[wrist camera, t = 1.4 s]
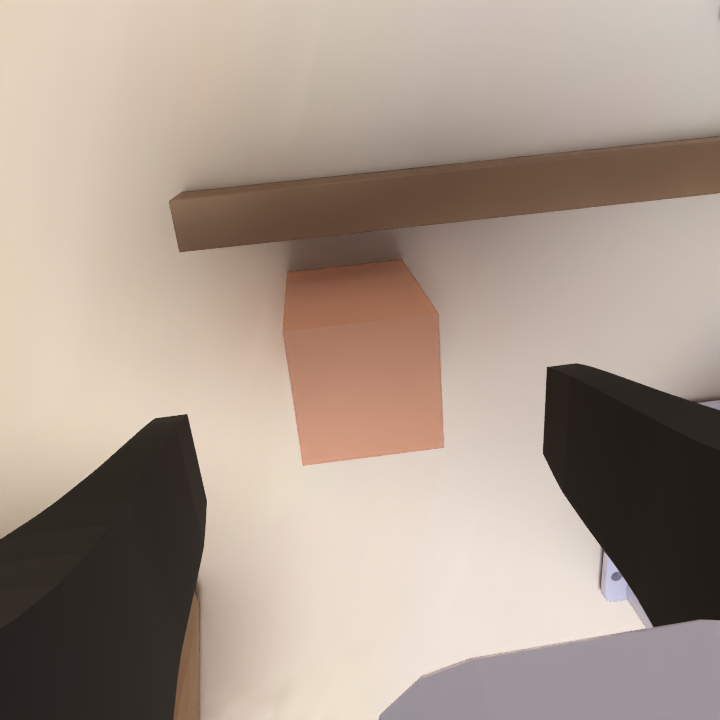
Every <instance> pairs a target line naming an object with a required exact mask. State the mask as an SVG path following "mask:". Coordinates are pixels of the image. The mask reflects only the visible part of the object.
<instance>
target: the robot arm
mask: <svg viewBox="0 0 720 720" xmlns="http://www.w3.org/2000/svg"><path fill="white" fill-rule="evenodd" d="M543 454H544V456H545V458H546V461H547V463H548V465H549V467H550V469H551V471H552V473H553V475H554V477H555V479H556V481H557V483H558V484H559V486H560V488H561V490H562V492H563V493H564V495H565V496H566V498H567V499H568V501H569V502H570V504H571V505H572V507H573V508H574V509H575V511H576V512H577V514H578V515H579V516H580V518H581V519H582V521H583V522H584V524H585V525H586V526H587V528H588V529H589V530H590V532H591V533H592V535H593V536H594V537H595V539H596V540H597V542H598V543H599V544H600V546H601V547H602V548H603V550H604V557H603V570H602V582H601V593H602V595H603V596H604V598H605V599H606V600H607V601H610V602H615V601H622V600H628V602H629V603H630V605H631V606H632V608H633V609H634V611H635V612H636V614H637V615H638V617H639V618H640V620H641V621H642V623H643V624H644V626H645V627H646V629H641V630H635V631H629V632H623V633H617V634H611V635H605V636H599V637H594V638H588V639H582V640H576V641H570V642H564V643H558V644H552V645H546V646H540V647H534V648H528V649H522V650H516V651H511V652H505V653H499V654H493V655H487V656H481V657H475V658H470V659H467V660H464V661H461V662H459V663H456V664H453V665H450V666H448V667H445V668H442V669H440V670H437V671H434V672H431V673H429V674H426V675H423V676H421V677H420V678H419V679H418V680H417V681H416V682H415V683H414V684H412V685H411V686H410V687H409V688H408V689H407V690H406V691H405V692H404V693H403V694H402V695H401V696H399V697H398V698H397V699H396V700H395V701H394V702H393V703H392V704H391V705H390V706H389V707H388V708H387V709H386V710H385V711H384V712H383V713H382V714H381V715H380V717H379V720H720V400H716V401H708V402H701V403H695V402H692V401H689V400H686V399H683V398H680V397H677V396H674V395H671V394H668V393H665V392H662V391H659V390H656V389H654V388H651V387H648V386H645V385H642V384H640V383H637V382H634V381H631V380H628V379H626V378H623V377H620V376H617V375H614V374H612V373H609V372H606V371H603V370H600V369H597V368H593V367H590V366H586V365H582V364H577V363H575V364H568V365H560V366H552V367H547V380H546V401H545V422H544V443H543ZM206 507H207V500H206V495H205V491H204V486H203V482H202V478H201V473H200V469H199V464H198V460H197V455H196V451H195V447H194V442H193V438H192V433H191V429H190V424H189V420H188V416H187V414H185V415H177V416H170V417H162V418H155V419H154V420H152V421H151V422H150V423H148V424H147V425H146V426H145V427H144V428H142V429H141V430H140V431H139V432H138V433H137V434H136V435H135V436H133V437H132V438H131V439H130V440H129V441H128V442H127V443H126V444H125V445H123V446H122V447H121V448H120V449H119V450H118V451H117V452H116V453H114V454H113V455H112V456H111V457H110V458H109V459H108V460H107V461H105V462H104V463H103V464H102V465H101V466H100V467H99V468H97V469H96V470H95V471H94V472H93V473H91V474H90V475H89V476H88V477H86V478H85V479H84V480H83V481H81V482H80V483H79V484H78V485H76V486H75V487H74V488H73V489H72V490H70V491H69V492H68V493H67V494H65V495H64V496H63V497H62V498H60V499H59V500H58V501H56V502H55V503H54V504H52V505H51V506H50V507H48V508H47V509H45V510H44V511H43V512H41V513H40V514H38V515H37V516H36V517H34V518H32V519H31V520H29V521H28V522H26V523H25V524H23V525H22V526H20V527H19V528H17V529H16V530H14V531H13V532H11V533H10V534H8V535H6V536H5V537H3V538H2V539H0V720H173V719H174V710H175V700H176V690H177V680H178V671H179V665H180V659H181V653H182V647H183V643H184V638H185V633H186V629H187V624H188V619H189V615H190V610H191V605H192V601H193V596H194V591H195V587H196V582H197V577H198V572H199V567H200V563H201V558H202V553H203V548H204V538H205V525H206ZM615 572H617V573H615ZM613 573H615V574H613ZM612 574H613V575H612Z"/></svg>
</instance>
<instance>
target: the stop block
mask: <svg viewBox="0 0 720 720" xmlns="http://www.w3.org/2000/svg"><path fill="white" fill-rule="evenodd" d="M283 335H284V342H285V349H286V355H287V362H288V369H289V376H290V382H291V389H292V396H293V403H294V409H295V416H296V423H297V430H298V436H299V443H300V450H301V457H302V463H303V466H304V465H312V464H319V463H327V462H335V461H343V460H351V459H359V458H366V457H374V456H382V455H390V454H398V453H406V452H413V451H421V450H429V449H437V448H444V436H443V412H442V388H441V364H440V340H439V316H438V312H437V311H436V309H435V308H434V306H433V305H432V303H431V302H430V300H429V299H428V297H427V296H426V294H425V293H424V292H423V290H422V289H421V287H420V286H419V284H418V283H417V281H416V280H415V278H414V277H413V275H412V274H411V272H410V271H409V269H408V268H407V266H406V265H405V263H404V262H403V260H395V261H386V262H377V263H368V264H359V265H350V266H341V267H332V268H323V269H314V270H305V271H296V272H287V279H286V294H285V309H284V324H283Z"/></svg>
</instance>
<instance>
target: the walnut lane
mask: <svg viewBox="0 0 720 720" xmlns="http://www.w3.org/2000/svg"><path fill="white" fill-rule="evenodd" d="M716 193H720V136H718V137H708V138H699V139H689V140H680V141H670V142H660V143H651V144H641V145H632V146H622V147H613V148H603V149H593V150H584V151H574V152H565V153H555V154H545V155H536V156H526V157H517V158H507V159H498V160H488V161H478V162H469V163H459V164H450V165H440V166H430V167H421V168H411V169H402V170H392V171H382V172H373V173H363V174H354V175H344V176H335V177H325V178H315V179H306V180H296V181H287V182H277V183H267V184H258V185H248V186H239V187H229V188H220V189H210V190H200V191H191V192H181V193H180V194H178V195H177V196H176V197H174V198H173V199H171V200H170V201H169V204H170V209H171V214H172V219H173V224H174V228H175V233H176V238H177V243H178V248H179V252H185V251H195V250H204V249H213V248H222V247H231V246H240V245H250V244H259V243H268V242H277V241H286V240H295V239H304V238H314V237H323V236H332V235H341V234H350V233H359V232H369V231H378V230H387V229H396V228H405V227H414V226H423V225H433V224H442V223H451V222H460V221H469V220H478V219H487V218H497V217H506V216H515V215H524V214H533V213H542V212H552V211H561V210H570V209H579V208H588V207H597V206H606V205H616V204H625V203H634V202H643V201H652V200H661V199H670V198H680V197H689V196H698V195H707V194H716Z"/></svg>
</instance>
